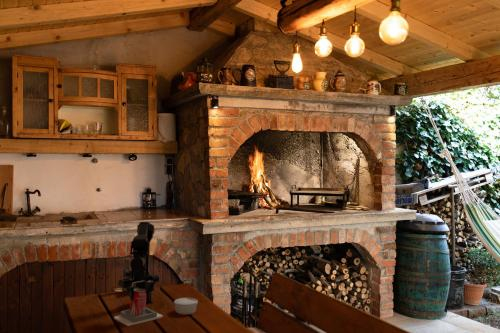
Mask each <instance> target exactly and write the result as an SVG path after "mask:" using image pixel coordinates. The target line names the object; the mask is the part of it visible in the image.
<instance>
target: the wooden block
mask: <svg viewBox="0 0 500 333" xmlns="http://www.w3.org/2000/svg"><path fill="white" fill-rule="evenodd" d="M131 261H132V259H131V258H130V257H125V258H123V270H127V269H128V270H129V271H131V266H130V263H131ZM126 278H127V277H124V276H123V279H126ZM129 280H133V279H131V278H129ZM132 287H134V289H136V283H135V284H132ZM121 292H125V293H126V292H127V293H128V291H127V289H126V288H122V287H121Z"/></svg>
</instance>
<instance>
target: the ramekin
mask: <svg viewBox="0 0 500 333" xmlns="http://www.w3.org/2000/svg"><path fill="white" fill-rule="evenodd" d="M198 303H199V301H198V299H196V298H193V297H180V298H177V299H174V302H173V304H174V307H175V308H174V310H175V313H177V314H178V315H184V316H185V315H192V314H194V313H196V311H197V307H198Z"/></svg>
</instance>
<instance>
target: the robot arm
mask: <svg viewBox="0 0 500 333" xmlns="http://www.w3.org/2000/svg"><path fill="white" fill-rule="evenodd" d="M136 234H137V235H136V236H134V237H133V239H132V241H131V242H130V250H129V251H130V252H129V255H130V256H133V257H132V259H131V260H130V271H129V270H128V269H127V270H124V269H123V272H122V275H123V278H121V279H119V280H118V282H117V286H118V287H120V288H121V289H122V288H126V289H127V291H128V292H127V293H128V296H129V299H130V300H131V301H132V300H133V295H134V287H132V284H135V283H136V288H141V289H145V290H146V294H147V296H146V305H148V304H152V303H154V301H153V300H152V293H153V292H155V285H156V283H157V282H160V279H161V278H160V276H159V275H158V274H156V273H151V272H150V251H151V248H150V246H151V244H150V243H151V242H152V239H153V238H154V234H155V225H154V224H152V223H150V222H149V221H140V222H138V224H137V227H136ZM124 277H127V278H126V279H124ZM129 278H131V279H130V280H129ZM132 279H133V280H132Z"/></svg>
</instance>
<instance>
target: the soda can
mask: <svg viewBox="0 0 500 333" xmlns="http://www.w3.org/2000/svg"><path fill="white" fill-rule="evenodd" d="M146 296H147V294H146V290H145V289H141V288H136V289H134V295H133V300H132V301H131V300H130V302H129V309H130V315H131V316H133V317H137V316H141V315H144V314H145V307H146V308H147V306H146V305H147V304H146Z"/></svg>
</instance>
